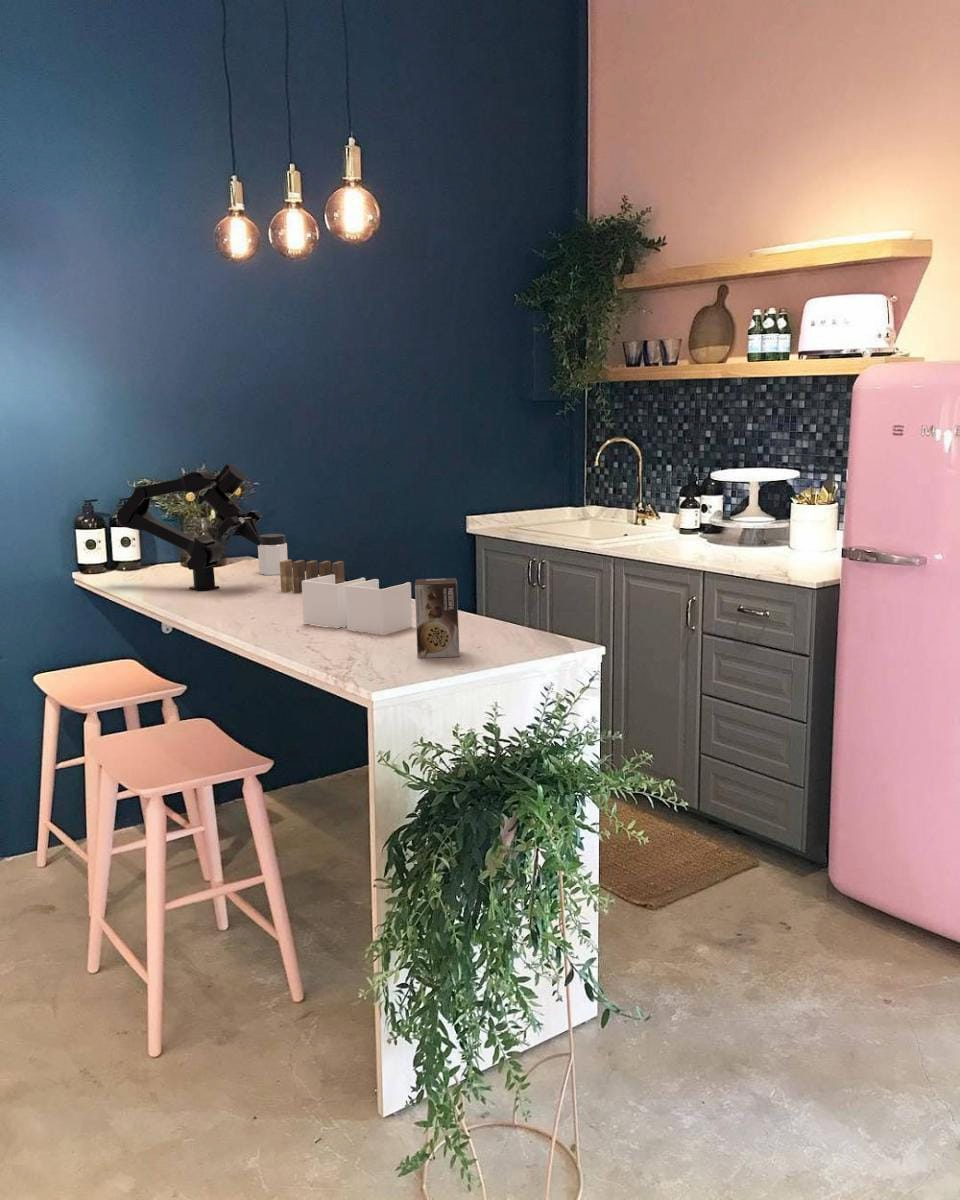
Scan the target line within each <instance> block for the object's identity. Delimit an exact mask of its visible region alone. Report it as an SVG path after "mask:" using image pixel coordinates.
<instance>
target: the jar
mask: <svg viewBox="0 0 960 1200" xmlns="http://www.w3.org/2000/svg"><path fill="white" fill-rule="evenodd" d="M259 536H260V539H261V542H262V544H261V545H259V546H258V545H257V554H258V555H257V556H258V570H259V571H258V573H259V574H261V575H263V574H264V575H263V576H280V562H281V561H284V560H289V559H288V544H287V542H286V535H285V534H283V533H266V534H261V535H260V534H259Z"/></svg>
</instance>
